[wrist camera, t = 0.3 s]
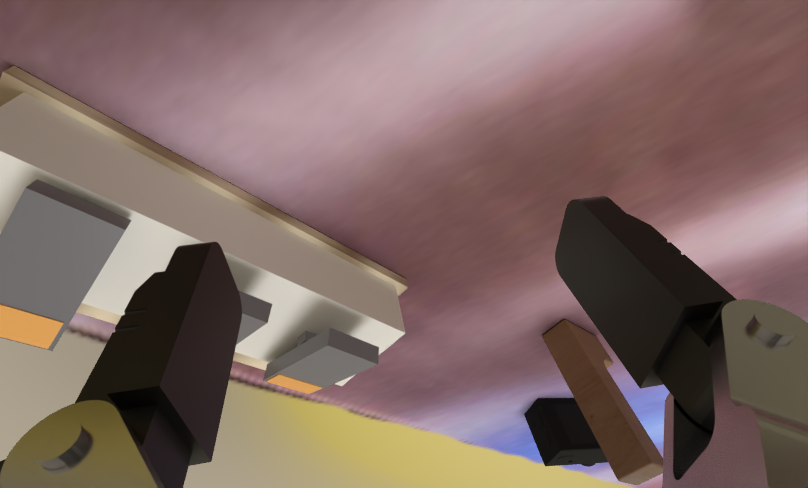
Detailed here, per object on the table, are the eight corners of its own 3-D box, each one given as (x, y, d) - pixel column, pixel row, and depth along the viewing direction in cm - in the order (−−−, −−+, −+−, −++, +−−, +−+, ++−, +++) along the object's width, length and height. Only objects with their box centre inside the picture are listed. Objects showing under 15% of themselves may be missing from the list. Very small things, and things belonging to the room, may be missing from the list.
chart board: (-55, 258, 27) (-69, 270, 26) (14, 65, 21) (0, 72, 20) (303, 373, 42) (302, 383, 41) (406, 279, 36) (408, 289, 35)
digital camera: (519, 419, 57) (539, 471, 52) (536, 397, 54) (560, 451, 49) (579, 417, 60) (605, 467, 55) (599, 397, 57) (629, 447, 52)
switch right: (267, 364, 30) (263, 381, 29) (330, 327, 25) (327, 346, 24) (313, 378, 32) (310, 395, 31) (379, 347, 27) (378, 365, 26)
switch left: (-35, 310, 20) (-50, 325, 19) (37, 179, 19) (24, 188, 18) (61, 336, 22) (51, 351, 21) (131, 220, 21) (125, 230, 20)
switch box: (-17, 197, 24) (-92, 262, 20) (24, 91, 21) (-55, 140, 17) (339, 338, 38) (342, 394, 33) (395, 286, 35) (407, 341, 30)
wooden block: (540, 335, 45) (617, 482, 33) (564, 318, 43) (652, 464, 32) (573, 351, 48) (654, 490, 36) (596, 336, 46) (687, 474, 35)
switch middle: (152, 327, 26) (143, 346, 25) (203, 275, 21) (194, 296, 20) (214, 347, 28) (208, 365, 27) (272, 304, 23) (267, 323, 22)
